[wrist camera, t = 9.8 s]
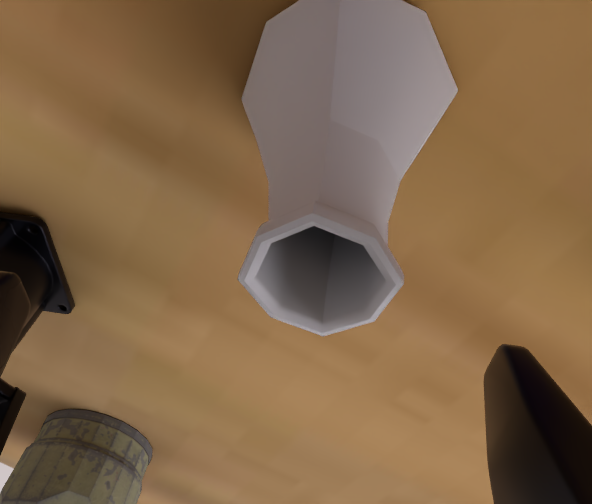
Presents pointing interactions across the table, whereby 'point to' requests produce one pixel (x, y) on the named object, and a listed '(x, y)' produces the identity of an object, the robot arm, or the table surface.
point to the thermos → (80, 462)
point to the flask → (338, 153)
